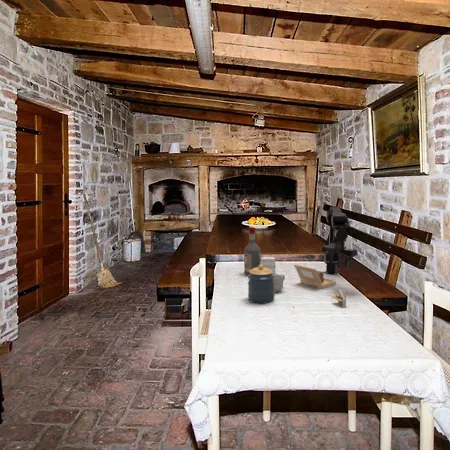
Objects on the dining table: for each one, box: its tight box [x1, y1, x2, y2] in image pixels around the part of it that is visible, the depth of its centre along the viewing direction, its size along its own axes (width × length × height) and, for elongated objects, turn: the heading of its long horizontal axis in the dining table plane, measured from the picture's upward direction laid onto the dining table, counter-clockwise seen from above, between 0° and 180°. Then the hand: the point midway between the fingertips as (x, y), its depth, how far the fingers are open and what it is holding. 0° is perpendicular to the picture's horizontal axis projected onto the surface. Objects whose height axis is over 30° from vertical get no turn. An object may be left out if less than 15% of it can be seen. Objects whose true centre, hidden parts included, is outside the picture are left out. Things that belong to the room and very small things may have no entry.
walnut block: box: [317, 270, 325, 283], centre depth 193 cm, size 4×4×6 cm
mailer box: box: [299, 277, 337, 289], centre depth 193 cm, size 12×15×2 cm
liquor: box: [243, 226, 262, 277], centre depth 213 cm, size 9×9×30 cm
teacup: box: [273, 273, 286, 293], centre depth 182 cm, size 14×11×8 cm
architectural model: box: [330, 288, 347, 308], centre depth 158 cm, size 3×7×7 cm, turn 17°
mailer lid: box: [294, 263, 322, 284], centre depth 187 cm, size 11×15×1 cm
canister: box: [247, 264, 275, 304], centre depth 167 cm, size 13×13×18 cm
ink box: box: [261, 256, 276, 274], centre depth 209 cm, size 9×5×12 cm, turn 86°
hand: (338, 266), depth 182 cm, fingers open, 9 cm apart
